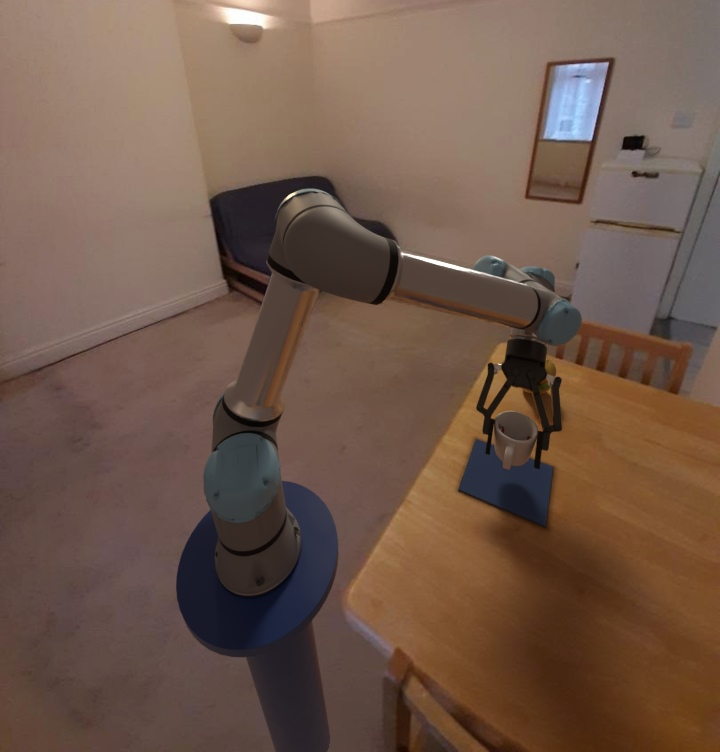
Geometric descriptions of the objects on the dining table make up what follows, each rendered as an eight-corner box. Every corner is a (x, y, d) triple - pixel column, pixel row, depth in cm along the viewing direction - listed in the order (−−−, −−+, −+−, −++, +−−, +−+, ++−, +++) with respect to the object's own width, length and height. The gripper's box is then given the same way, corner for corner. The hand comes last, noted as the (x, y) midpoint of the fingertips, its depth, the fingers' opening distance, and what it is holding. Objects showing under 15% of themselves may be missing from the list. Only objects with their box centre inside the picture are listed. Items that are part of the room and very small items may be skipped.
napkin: (458, 490, 80) (458, 489, 80) (475, 439, 91) (475, 438, 91) (545, 527, 73) (545, 526, 73) (553, 467, 84) (553, 466, 84)
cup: (526, 491, 74) (532, 460, 70) (482, 473, 77) (486, 443, 74) (535, 447, 82) (541, 418, 78) (495, 433, 86) (499, 404, 82)
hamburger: (535, 379, 108) (542, 342, 103) (557, 396, 102) (566, 357, 97) (513, 388, 105) (520, 350, 100) (535, 406, 99) (543, 367, 94)
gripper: (473, 328, 82) (453, 445, 76) (589, 349, 74) (577, 481, 68) (475, 335, 89) (456, 444, 82) (581, 355, 81) (569, 476, 75)
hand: (511, 460), depth 75 cm, fingers closed on cup, 8 cm apart
